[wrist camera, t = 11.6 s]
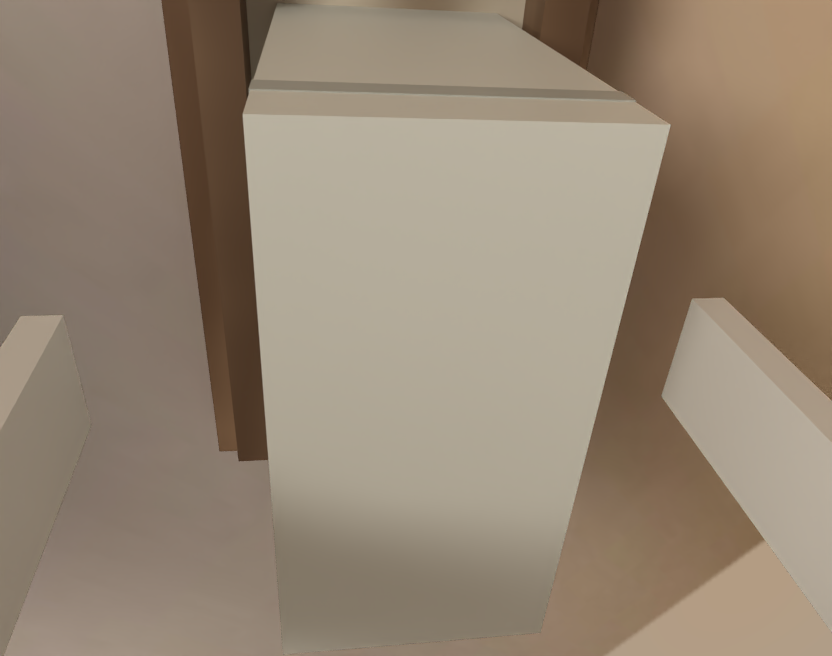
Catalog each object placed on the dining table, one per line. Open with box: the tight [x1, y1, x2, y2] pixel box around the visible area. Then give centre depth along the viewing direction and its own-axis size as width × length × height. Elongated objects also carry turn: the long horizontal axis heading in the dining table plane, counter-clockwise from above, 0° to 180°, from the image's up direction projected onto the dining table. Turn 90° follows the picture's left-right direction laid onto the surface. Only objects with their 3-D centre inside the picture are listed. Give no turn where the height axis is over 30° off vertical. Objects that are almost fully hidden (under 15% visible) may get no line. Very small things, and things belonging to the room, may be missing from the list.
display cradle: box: [162, 0, 599, 461], centre depth 22 cm, size 12×20×4 cm, turn 177°
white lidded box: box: [243, 3, 671, 655], centre depth 17 cm, size 6×12×11 cm, turn 177°
